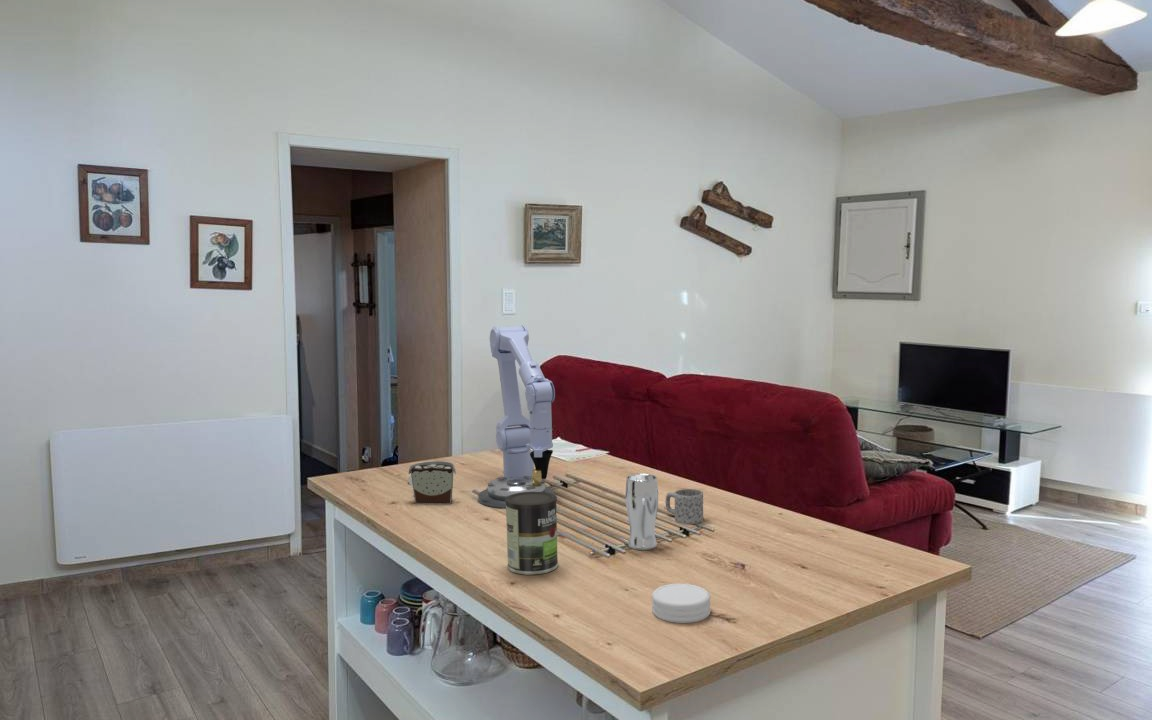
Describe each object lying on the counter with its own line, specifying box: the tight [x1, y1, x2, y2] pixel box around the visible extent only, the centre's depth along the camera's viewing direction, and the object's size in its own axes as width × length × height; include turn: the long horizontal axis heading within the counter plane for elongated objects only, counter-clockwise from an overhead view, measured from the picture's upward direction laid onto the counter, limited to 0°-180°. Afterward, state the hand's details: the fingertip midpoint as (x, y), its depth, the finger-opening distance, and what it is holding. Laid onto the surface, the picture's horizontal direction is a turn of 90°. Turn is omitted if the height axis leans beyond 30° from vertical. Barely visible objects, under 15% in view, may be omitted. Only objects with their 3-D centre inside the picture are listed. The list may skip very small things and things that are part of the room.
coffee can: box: [505, 492, 559, 576], centre depth 168 cm, size 10×10×14 cm
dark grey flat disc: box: [477, 486, 556, 509], centre depth 220 cm, size 20×20×1 cm
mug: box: [665, 488, 704, 525], centre depth 198 cm, size 10×7×7 cm
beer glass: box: [625, 473, 659, 551], centre depth 179 cm, size 7×7×15 cm
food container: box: [408, 460, 457, 505], centre depth 218 cm, size 12×6×10 cm, turn 84°
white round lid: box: [651, 583, 711, 624], centre depth 144 cm, size 10×10×4 cm
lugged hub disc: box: [487, 468, 546, 500], centre depth 219 cm, size 15×15×6 cm
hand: (542, 478), depth 220 cm, fingers closed
